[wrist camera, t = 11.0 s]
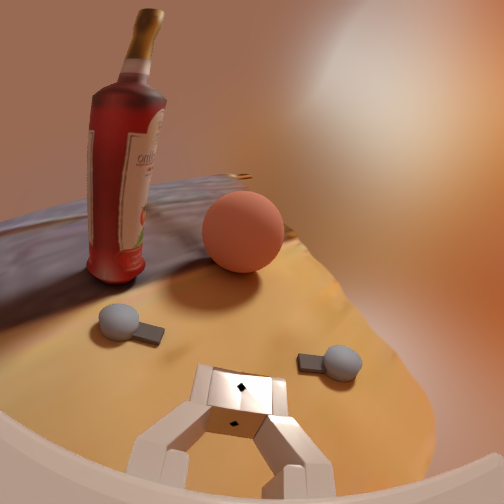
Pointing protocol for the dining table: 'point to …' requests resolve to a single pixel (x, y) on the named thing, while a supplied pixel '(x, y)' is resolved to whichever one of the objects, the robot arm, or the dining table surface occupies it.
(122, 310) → the grey knobs
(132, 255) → the liquor
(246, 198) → the ball
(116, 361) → the dining table surface
